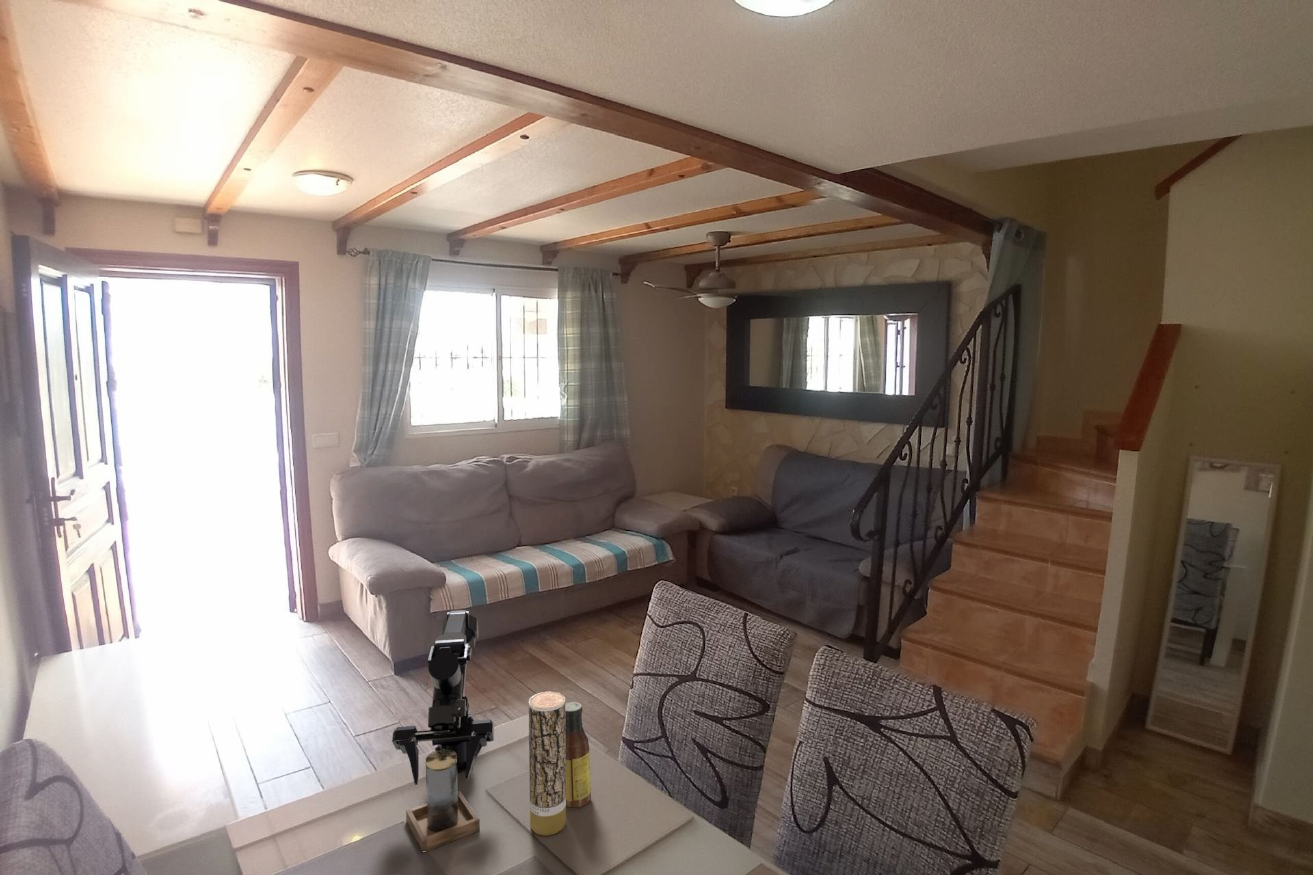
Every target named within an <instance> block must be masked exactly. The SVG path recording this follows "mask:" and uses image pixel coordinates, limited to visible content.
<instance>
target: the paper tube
mask: <svg viewBox="0 0 1313 875" xmlns="http://www.w3.org/2000/svg"><path fill="white" fill-rule="evenodd" d="M565 704H566V697H565V696H564V695H563V694H562V693H560V692H558V691H557V692H556V691H542V692H538V693H536V694H534V695H532V696H531V697H529V700H528V746H529V747H528V756H529V757H528V758H529V759H528V761H529V766H528V767H529V822H530V823H529V825H530V826H529V827H530V828H531V830H532V831H533V832H534V833H535V834H537V835H540V836H552V835H556V834H558V833H559V832H561V830H563V828H564V827H565V825H566V821H567V806H566V732H565Z"/></svg>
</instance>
